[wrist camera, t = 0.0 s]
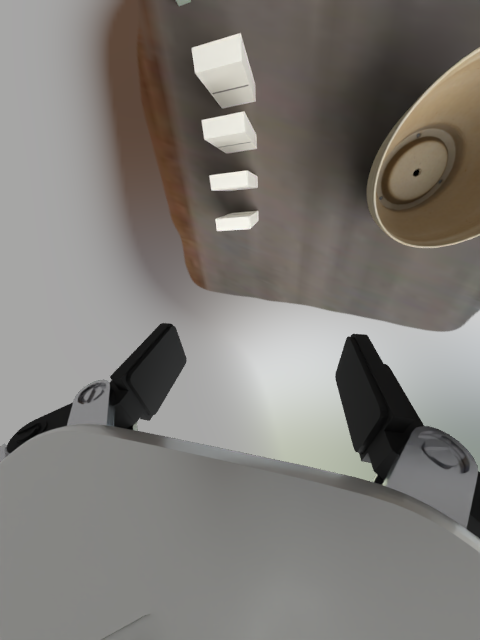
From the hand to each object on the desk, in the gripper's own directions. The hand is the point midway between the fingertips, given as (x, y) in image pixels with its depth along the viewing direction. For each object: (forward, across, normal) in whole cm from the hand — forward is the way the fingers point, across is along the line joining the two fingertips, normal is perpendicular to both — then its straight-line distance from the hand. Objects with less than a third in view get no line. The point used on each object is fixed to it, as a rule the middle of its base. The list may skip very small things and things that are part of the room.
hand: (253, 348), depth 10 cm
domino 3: (+31, +6, -9) cm, 33 cm away
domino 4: (+31, +6, -4) cm, 32 cm away
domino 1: (+31, +6, -19) cm, 37 cm away
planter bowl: (+32, -19, -8) cm, 38 cm away
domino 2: (+31, +6, -14) cm, 35 cm away
